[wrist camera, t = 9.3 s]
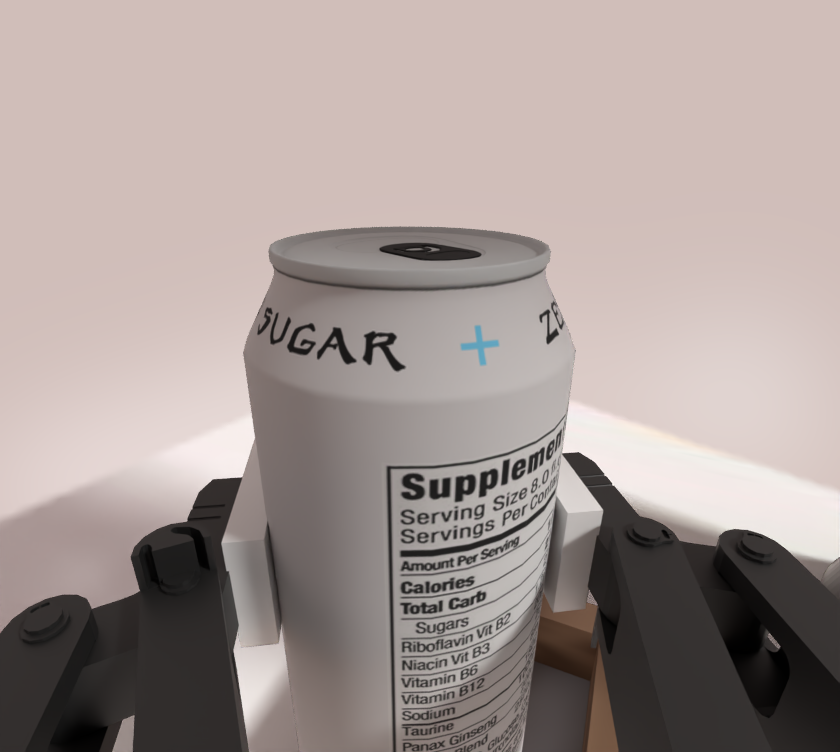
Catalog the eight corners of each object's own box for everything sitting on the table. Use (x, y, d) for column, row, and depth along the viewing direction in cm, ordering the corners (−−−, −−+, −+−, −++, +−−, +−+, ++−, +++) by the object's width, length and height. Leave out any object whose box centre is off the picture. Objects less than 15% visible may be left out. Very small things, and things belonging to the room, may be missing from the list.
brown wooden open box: (649, 668, 30) (665, 610, 28) (648, 1037, 17) (677, 974, 16) (418, 589, 35) (419, 536, 34) (287, 827, 23) (277, 761, 21)
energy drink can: (421, 640, 19) (424, 217, 13) (558, 779, 14) (658, 246, 9) (268, 756, 15) (176, 239, 9) (394, 986, 11) (373, 306, 5)
